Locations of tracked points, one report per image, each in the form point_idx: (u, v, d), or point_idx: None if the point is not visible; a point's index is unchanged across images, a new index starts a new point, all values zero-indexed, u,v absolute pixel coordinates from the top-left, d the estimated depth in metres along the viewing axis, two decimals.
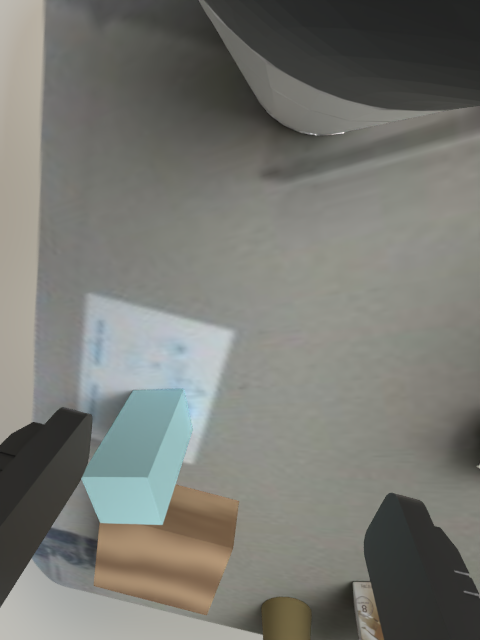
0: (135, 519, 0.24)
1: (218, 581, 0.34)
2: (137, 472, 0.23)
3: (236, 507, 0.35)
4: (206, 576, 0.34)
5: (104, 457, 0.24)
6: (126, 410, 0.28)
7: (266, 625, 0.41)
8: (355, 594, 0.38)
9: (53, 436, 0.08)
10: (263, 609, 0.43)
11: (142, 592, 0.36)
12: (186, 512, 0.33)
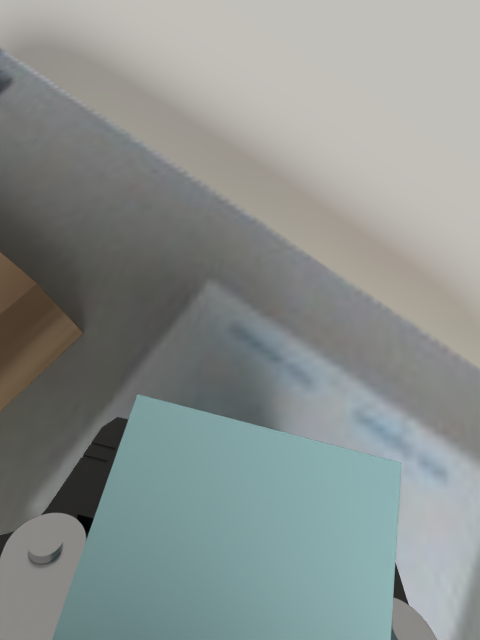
0: (103, 593, 0.05)
1: None
2: None
3: None
4: None
5: None
6: None
7: None
8: None
9: None
10: None
11: None
12: None
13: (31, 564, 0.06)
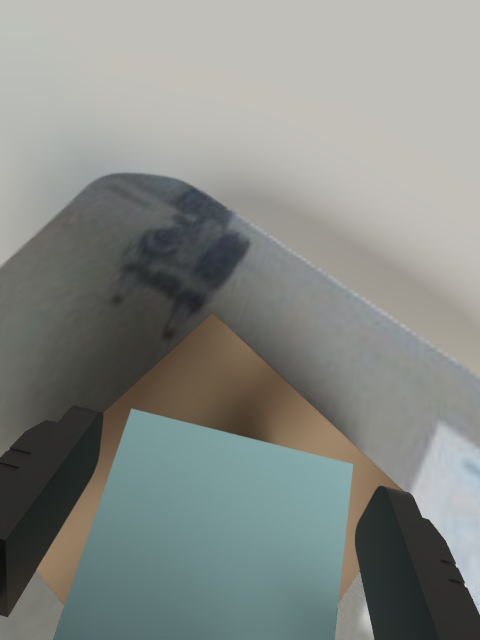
0: (104, 570, 0.06)
1: None
2: None
3: None
4: None
5: None
6: None
7: None
8: None
9: (67, 434, 0.08)
10: None
11: (152, 403, 0.16)
12: None
13: None
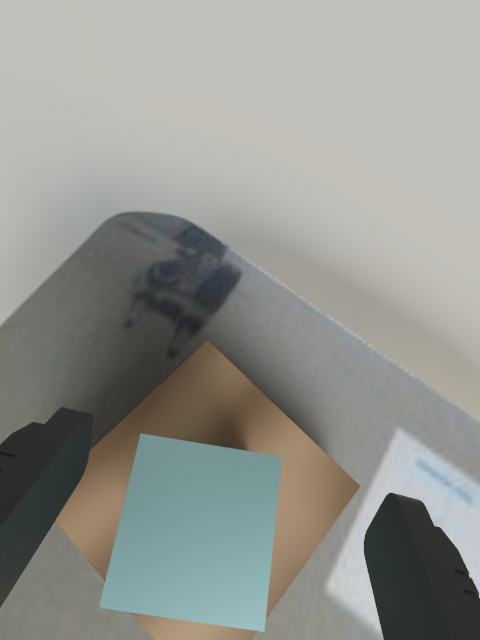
0: (133, 532, 0.10)
1: None
2: (265, 592, 0.10)
3: None
4: None
5: None
6: None
7: None
8: None
9: (53, 436, 0.08)
10: None
11: (159, 413, 0.20)
12: None
13: None
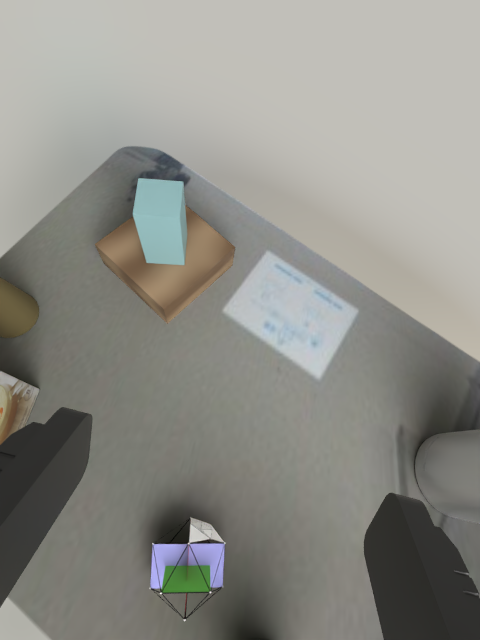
0: (139, 199, 0.35)
1: (132, 277, 0.42)
2: (180, 213, 0.36)
3: (167, 320, 0.45)
4: (141, 272, 0.42)
5: (183, 199, 0.38)
6: (186, 224, 0.42)
7: (24, 293, 0.42)
8: (35, 387, 0.40)
9: (53, 436, 0.08)
10: (30, 296, 0.44)
11: None
12: (193, 291, 0.45)
13: None
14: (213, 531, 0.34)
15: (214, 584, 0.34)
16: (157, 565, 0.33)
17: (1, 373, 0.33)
